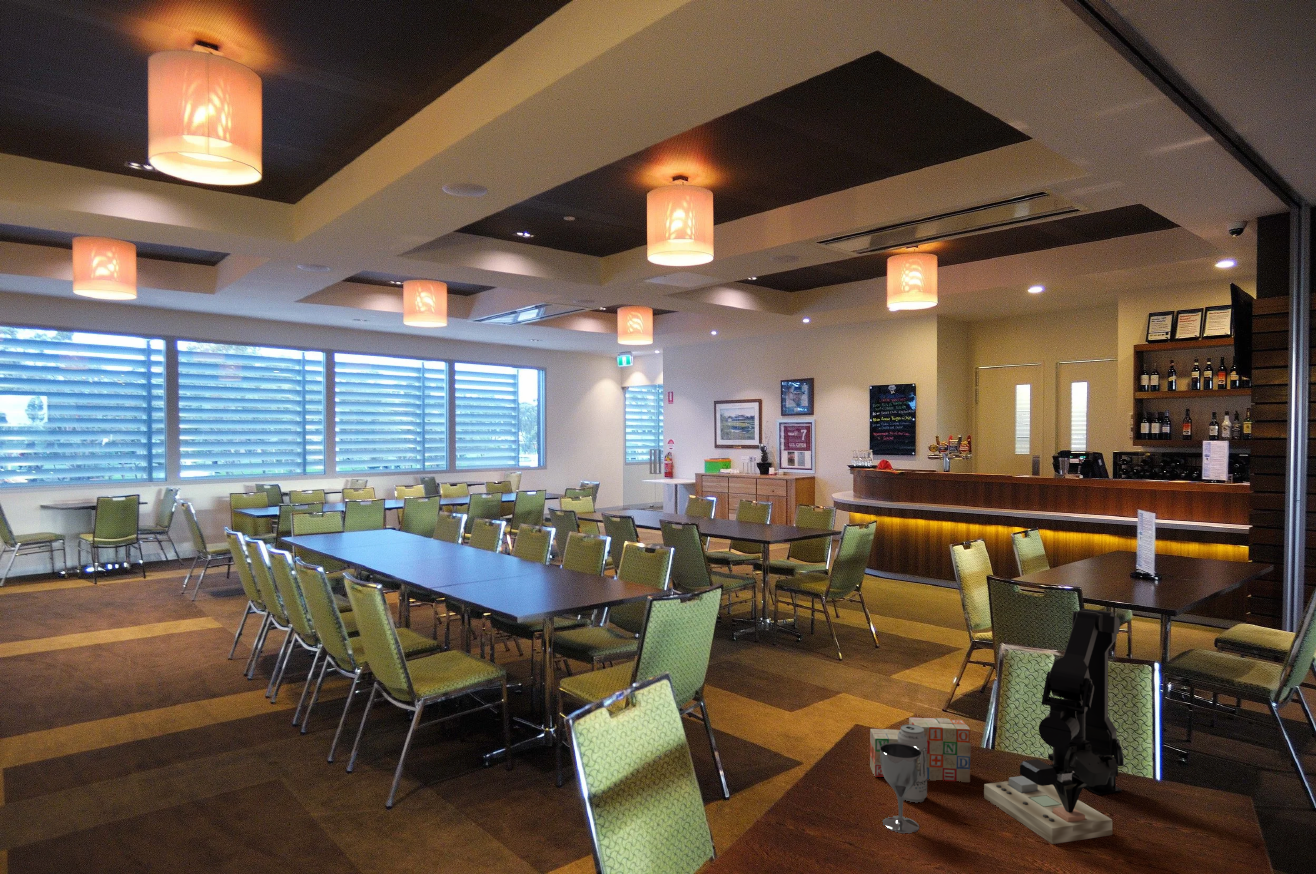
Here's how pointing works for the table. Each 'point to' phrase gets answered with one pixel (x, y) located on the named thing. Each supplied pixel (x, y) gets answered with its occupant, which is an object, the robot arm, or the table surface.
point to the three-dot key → (1022, 784)
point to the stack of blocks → (932, 748)
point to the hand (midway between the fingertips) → (1068, 811)
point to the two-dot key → (1068, 814)
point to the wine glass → (900, 779)
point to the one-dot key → (1045, 801)
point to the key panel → (1047, 814)
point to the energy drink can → (918, 739)
